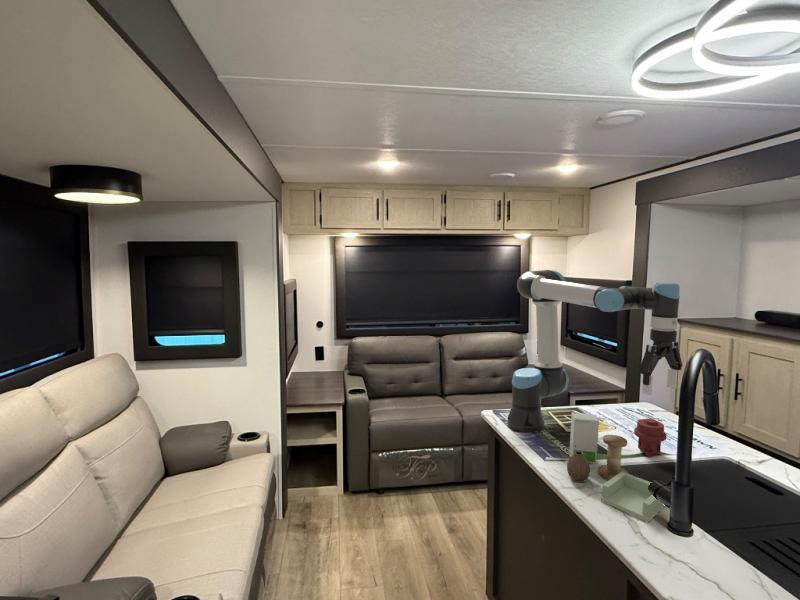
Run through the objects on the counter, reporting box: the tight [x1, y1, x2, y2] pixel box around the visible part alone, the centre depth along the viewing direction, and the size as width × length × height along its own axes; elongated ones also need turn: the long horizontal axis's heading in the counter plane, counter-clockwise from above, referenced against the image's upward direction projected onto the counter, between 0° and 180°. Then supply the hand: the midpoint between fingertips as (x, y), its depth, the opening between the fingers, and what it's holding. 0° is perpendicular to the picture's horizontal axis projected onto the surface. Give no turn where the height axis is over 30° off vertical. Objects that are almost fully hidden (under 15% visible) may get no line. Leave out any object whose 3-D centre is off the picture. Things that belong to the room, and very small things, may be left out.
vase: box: [566, 451, 591, 483], centre depth 137 cm, size 7×7×9 cm
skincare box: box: [568, 411, 600, 465], centre depth 150 cm, size 8×7×16 cm
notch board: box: [599, 472, 665, 523], centre depth 124 cm, size 13×13×5 cm
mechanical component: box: [633, 418, 667, 458], centre depth 153 cm, size 12×10×10 cm
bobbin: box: [597, 434, 630, 481], centre depth 139 cm, size 9×9×12 cm
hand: (659, 390), depth 145 cm, fingers open, 13 cm apart
